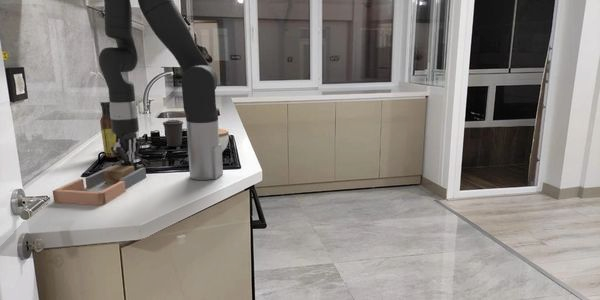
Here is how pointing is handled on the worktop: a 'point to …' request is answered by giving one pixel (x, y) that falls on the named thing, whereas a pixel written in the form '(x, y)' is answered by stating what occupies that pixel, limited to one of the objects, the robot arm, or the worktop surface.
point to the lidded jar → (223, 138)
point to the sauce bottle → (107, 129)
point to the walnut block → (117, 173)
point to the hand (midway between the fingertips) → (129, 172)
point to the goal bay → (87, 193)
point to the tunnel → (128, 179)
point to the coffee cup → (173, 132)
